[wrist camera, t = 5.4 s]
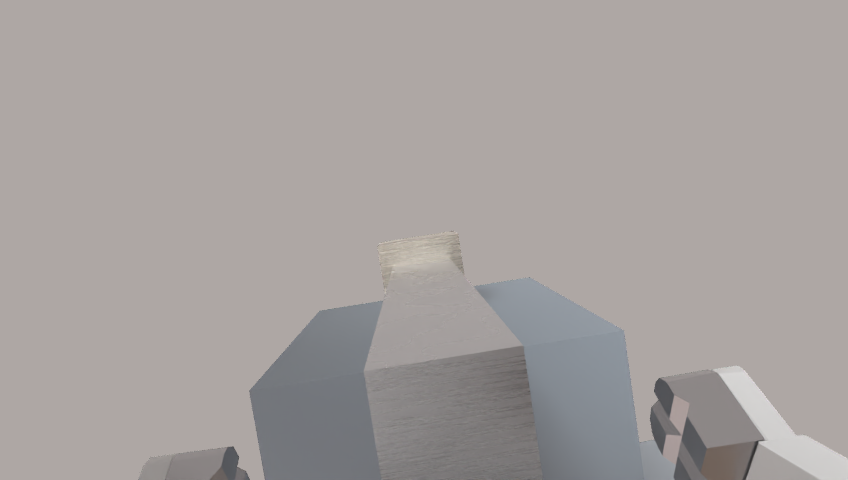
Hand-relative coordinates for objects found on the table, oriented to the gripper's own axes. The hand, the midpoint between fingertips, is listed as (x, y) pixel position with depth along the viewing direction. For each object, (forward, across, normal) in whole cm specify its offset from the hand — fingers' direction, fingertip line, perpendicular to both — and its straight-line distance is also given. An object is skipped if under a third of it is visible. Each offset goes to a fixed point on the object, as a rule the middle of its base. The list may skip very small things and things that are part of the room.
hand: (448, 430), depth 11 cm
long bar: (+7, 0, +4) cm, 8 cm away
